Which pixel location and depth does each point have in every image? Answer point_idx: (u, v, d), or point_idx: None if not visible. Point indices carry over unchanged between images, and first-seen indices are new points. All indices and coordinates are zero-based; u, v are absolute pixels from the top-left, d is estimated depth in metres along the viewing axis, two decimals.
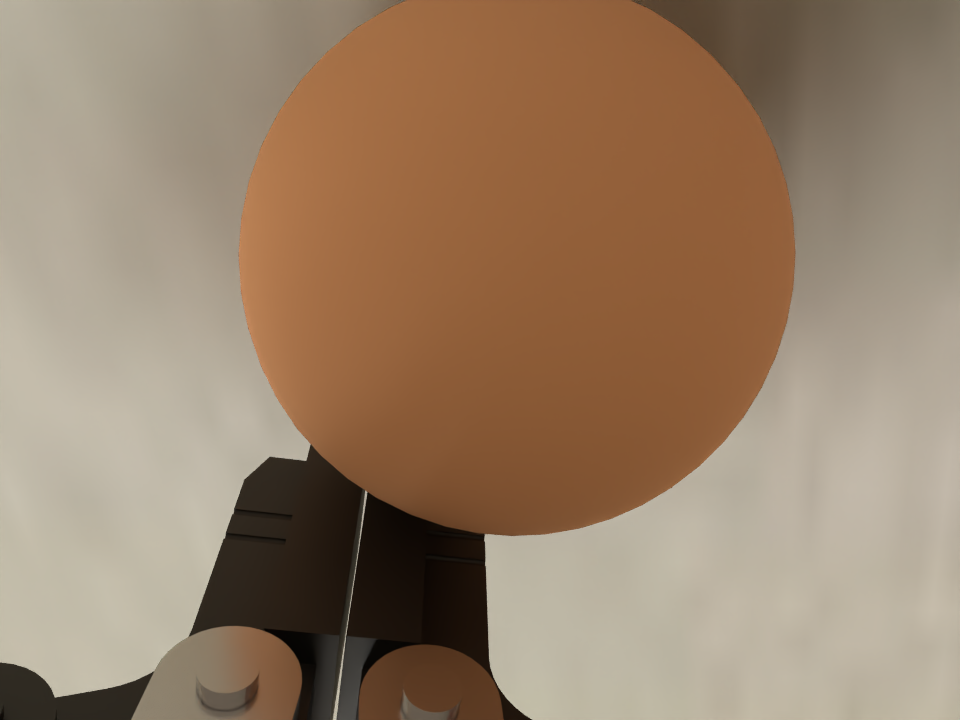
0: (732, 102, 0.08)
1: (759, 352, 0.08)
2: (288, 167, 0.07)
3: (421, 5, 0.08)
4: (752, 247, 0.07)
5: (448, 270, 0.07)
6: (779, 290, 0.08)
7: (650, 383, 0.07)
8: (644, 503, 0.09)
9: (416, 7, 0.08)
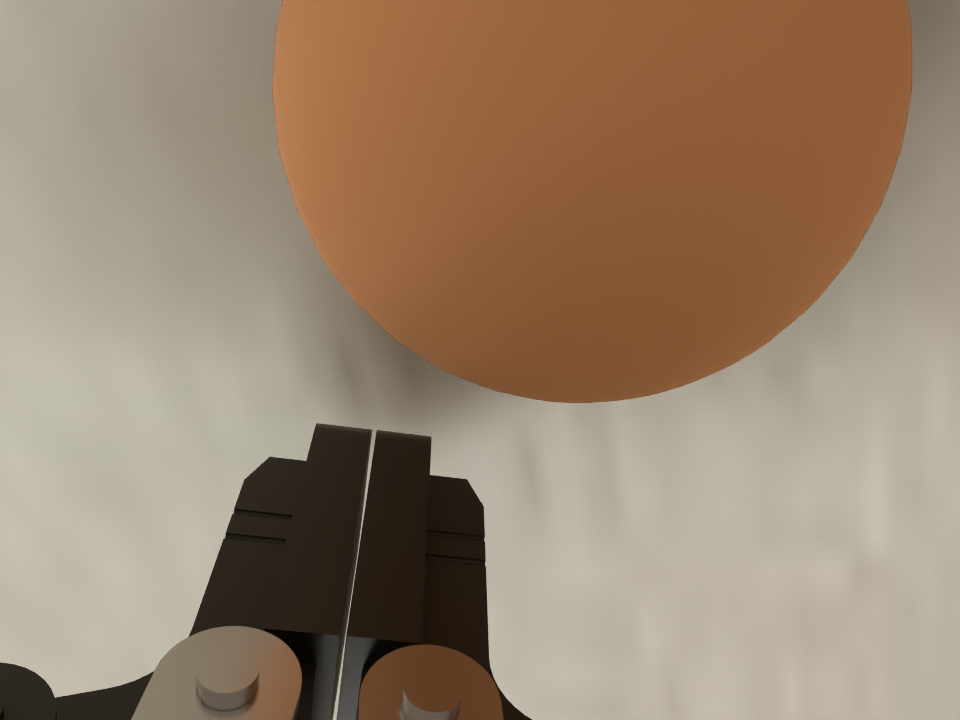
0: None
1: None
2: None
3: None
4: None
5: None
6: None
7: None
8: None
9: None
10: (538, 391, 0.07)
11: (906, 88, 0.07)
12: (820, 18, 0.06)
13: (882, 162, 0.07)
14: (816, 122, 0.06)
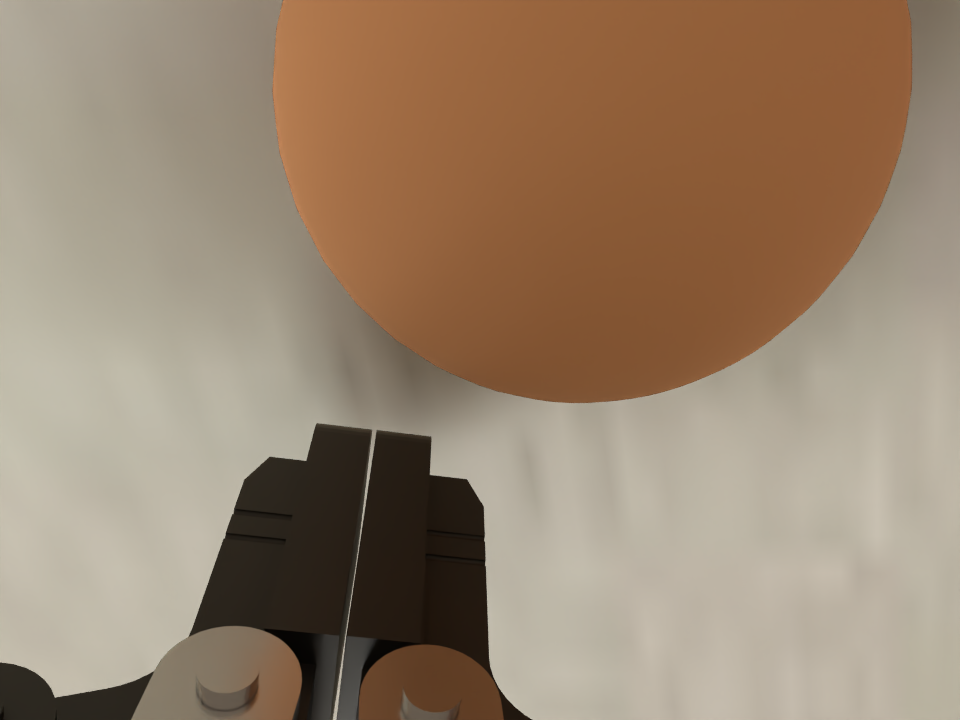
0: None
1: None
2: None
3: None
4: None
5: None
6: None
7: None
8: None
9: None
10: (538, 391, 0.07)
11: (906, 88, 0.07)
12: (820, 18, 0.06)
13: (882, 162, 0.07)
14: (816, 122, 0.06)
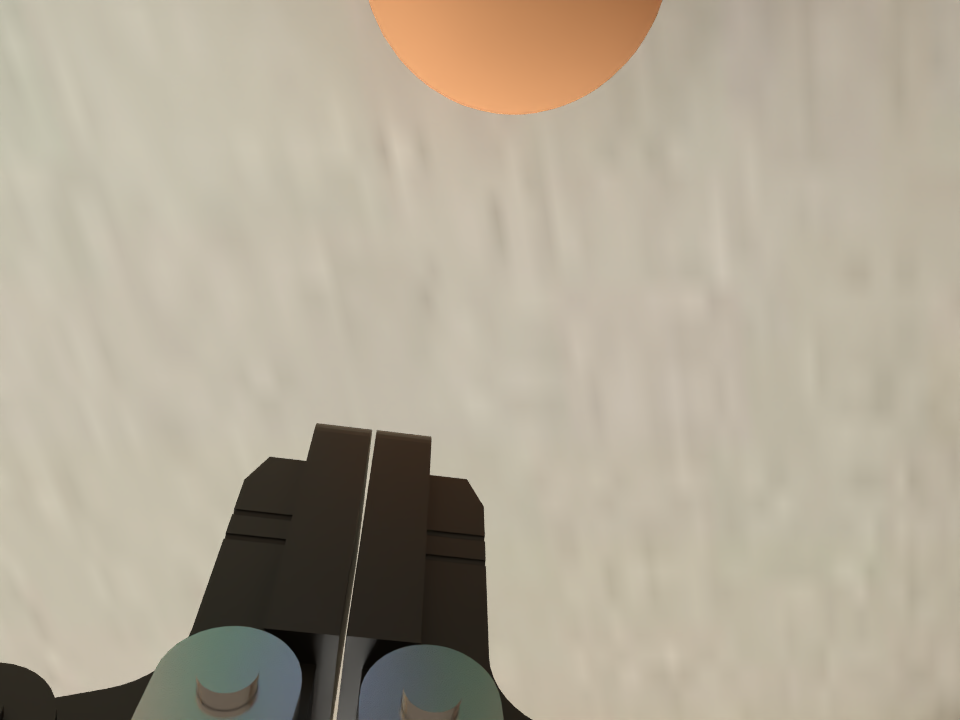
0: None
1: None
2: None
3: None
4: None
5: None
6: None
7: None
8: None
9: None
10: (492, 91, 0.15)
11: None
12: None
13: None
14: None
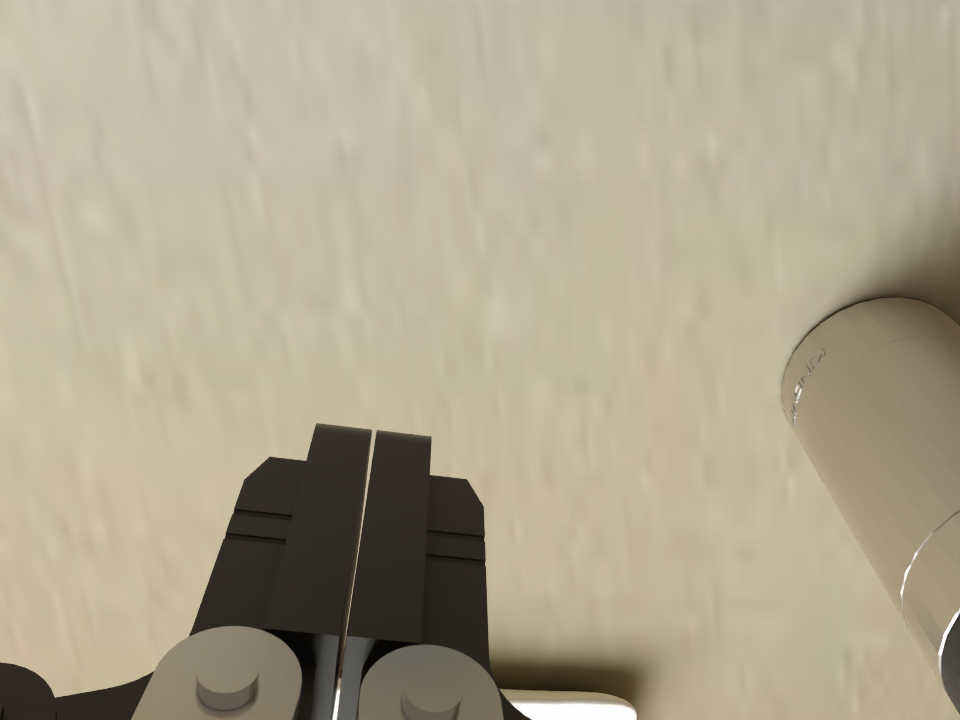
0: None
1: None
2: None
3: None
4: None
5: None
6: None
7: None
8: None
9: None
10: None
11: None
12: None
13: None
14: None
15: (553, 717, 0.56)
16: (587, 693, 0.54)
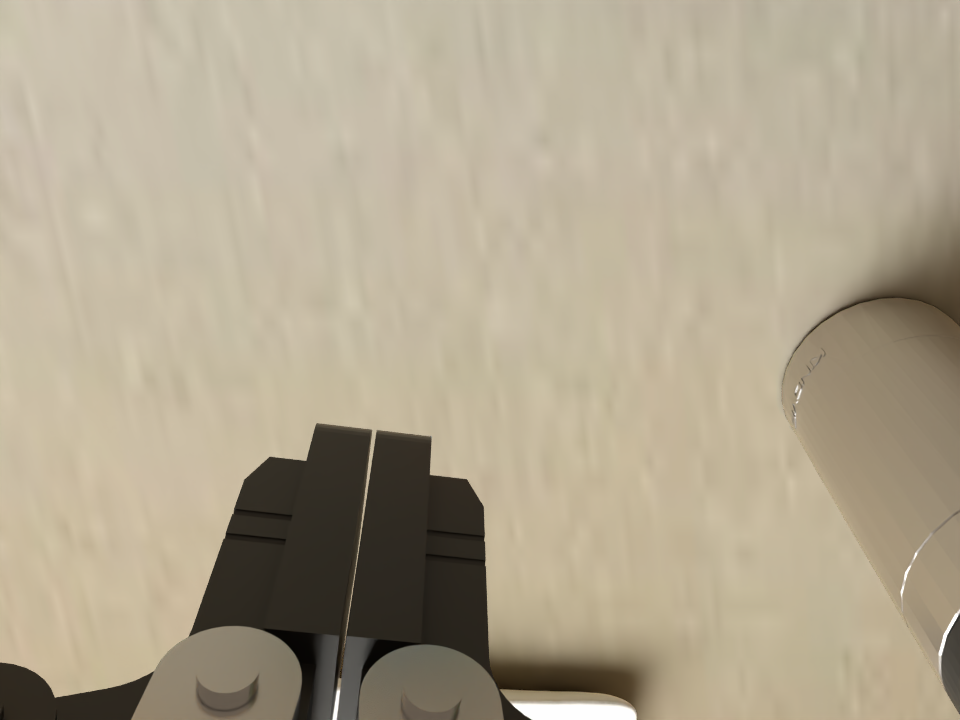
0: None
1: None
2: None
3: None
4: None
5: None
6: None
7: None
8: None
9: None
10: None
11: None
12: None
13: None
14: None
15: (553, 717, 0.56)
16: (587, 693, 0.54)
